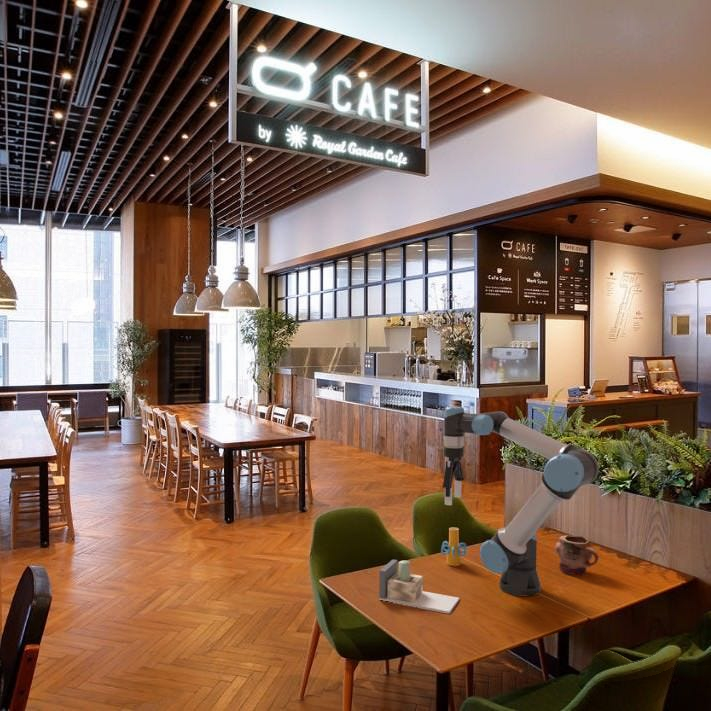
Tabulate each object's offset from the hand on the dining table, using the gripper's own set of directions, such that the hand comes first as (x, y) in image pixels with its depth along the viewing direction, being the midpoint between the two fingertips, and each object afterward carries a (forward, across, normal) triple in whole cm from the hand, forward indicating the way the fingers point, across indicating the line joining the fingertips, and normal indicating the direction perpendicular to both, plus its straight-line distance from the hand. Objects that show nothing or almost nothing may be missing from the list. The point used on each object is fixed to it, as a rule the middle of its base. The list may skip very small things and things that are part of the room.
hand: (453, 501), depth 239 cm
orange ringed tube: (+32, -20, -5) cm, 38 cm away
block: (+32, +22, -12) cm, 40 cm away
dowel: (+31, +22, -12) cm, 40 cm away
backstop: (+32, +22, -6) cm, 39 cm away
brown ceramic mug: (+32, -32, +43) cm, 62 cm away
